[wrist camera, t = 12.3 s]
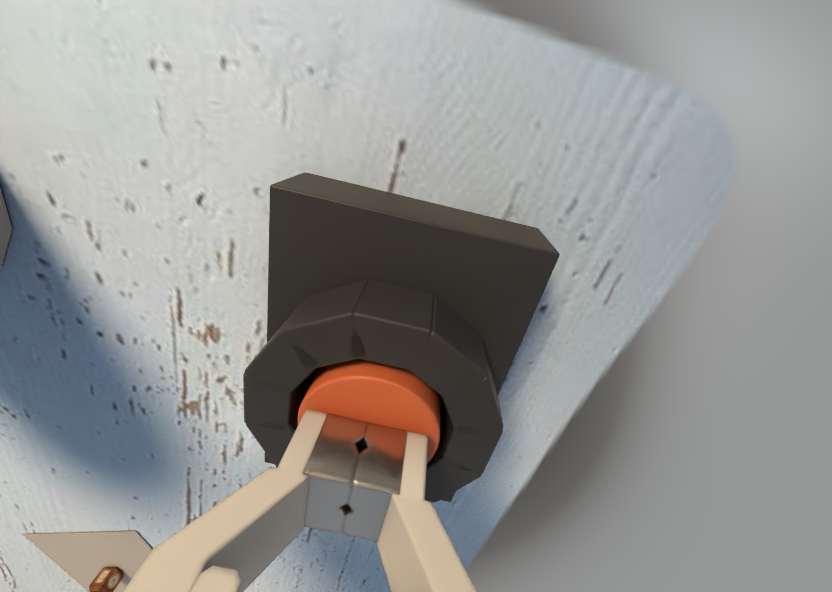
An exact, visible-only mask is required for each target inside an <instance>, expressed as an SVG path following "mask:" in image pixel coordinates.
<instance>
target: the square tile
mask: <svg viewBox="0 0 832 592" xmlns="http://www.w3.org/2000/svg"><path fill="white" fill-rule="evenodd" d="M23 535H24V536H25V537H26V538H27V539H28V540H30V541H31V542H32V543H33V544H34V545H35V546H37V547H38V548H39V549H40V550H41V551H42V552H43V553H45V554H46V555H47V556H48V557H49V558H50V559H52V560H53V561H54V562H55V563H56V564H57V565H58V566H60V567H61V568H62V569H63V570H64V571H65V572H67V573H68V574H69V575H70V576H71V577H72V578H73V579H75V580H76V581H77V582H78V583H79V584H80V585H82V586H83V587H84V588H85V589H86V590H87V591H88V592H123V591H124V590H125V588H126V587H127V586H128V584H129V583H130V581H131V580H132V578H133V577H134V575H135V574H136V573H137V571H138V570H139V568H140V567H141V565H142V564H143V562H144V561H145V560H146V558H147V557H148V555H149V554H150V552H151V551H152V549H151V547H150V546H149V545H148V544H147V543H146V542H145V541H144V540H143V539H142V538H141V536H140V535H139V534H138V533H137V532H136V531H121V532H86V533H51V534H23Z"/></svg>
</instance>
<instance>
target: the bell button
mask: <svg viewBox="0 0 832 592" xmlns="http://www.w3.org/2000/svg"><path fill="white" fill-rule="evenodd" d="M308 409H312V410H316V411H320V412H324V413H328V414H333V415H337V416H341V417H345V418H349V419H353V420H357V421H361V422H365V423H373V424H378V425H382V426H387V427H392V428H397V429H402V430H406V432H407V431H410V432H414V433H419V434H423V435H427V438H428V449H427V463H428V462H429V461H430V460H431V458H432V457H433V456H434V454H435V452H436V450H437V448H438V445H439V441H440V420H441V395H440V394H439V393H437V392H436V391H435V390H433V389H432V388H431V387H430V386H428V385H427V384H426V383H424V382H423V381H422V380H421V379H419V378H418V377H417V376H415V375H414V374H413V373H411V372H410V371H409V370H407V369H402V368H398V367H394V366H389V365H385V364H380V363H376V362H371V361H367V360H362V359H356V360H352V361H347V362H342V363H338V364H333V365H329V366H324V367H320V368H319V370H318V371H317V373H316V375H315V377H314V379H313V381H312V383H311V385H310V387H309V389H308V391H307V393H306V395H305V397H304V399H303V401H302V403H301V405H300V408H299V411H298V425H299V423H300V421H301V419H302V417H303V415H304V413H305V412H306V411H307V410H308Z"/></svg>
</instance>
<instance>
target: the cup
mask: <svg viewBox="0 0 832 592" xmlns="http://www.w3.org/2000/svg"><path fill="white" fill-rule="evenodd" d="M11 231H12V226H11V222H10V219H9V216H8V212H7V209H6V205H5V202H4V198H3V195H2V192H1V188H0V268H1V267H2V264H3V261H4V257H5V253H6V250H7V246H8V242H9V239H10V235H11Z"/></svg>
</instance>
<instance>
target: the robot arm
mask: <svg viewBox="0 0 832 592" xmlns="http://www.w3.org/2000/svg"><path fill="white" fill-rule="evenodd" d="M427 449H428V438H427V435H423V434H419V433H414V432H410V431H407V432H406V430H402V429H397V428H392V427H387V426H382V425H378V424H373V423H365V422H361V421H357V420H353V419H349V418H345V417H341V416H337V415H333V414H328V413H324V412H320V411H316V410H312V409H308V410H307V411H306V412H305V413H304V415H303V417H302V419H301V421H300V423H299V425H298V427H297V429H296V431H295V433H294V435H293V437H292V439H291V441H290V443H289V445H288V447H287V449H286V451H285V453H284V455H283V458H282V460H281V462H280V464H279V466H278V468H273V467H270V468H269V469H267V470H266V471H264V472H263V473H261V474H260V475H259V476H257V477H256V478H254V479H253V480H251V481H250V482H249V483H247V484H246V485H244V486H243V487H241V488H240V489H239V490H237V491H236V492H234V493H233V494H231V495H230V496H228V497H227V498H226V499H224V500H223V501H221V502H220V503H218V504H217V505H216V506H214V507H213V508H211V509H210V510H208V511H207V512H206V513H204V514H203V515H201V516H200V517H198V518H197V519H196V520H194V521H193V522H191V523H190V524H188V525H187V526H186V527H184V528H183V529H181V530H180V531H178V532H177V533H175V534H174V535H173V536H171V537H170V538H168V539H167V540H165V541H164V542H163V543H161V544H160V545H158V546H157V547H155V548H154V549H153V550H152V551H151V552H150V554H149V555H148V557H147V558H146V560H145V561H144V562H143V564H142V565H141V567H140V568H139V570H138V571H137V573H136V574H135V575H134V577H133V578H132V580H131V581H130V583H129V584H128V586H127V587H126V588H125V590H124V591H123V592H243V591H244V590H245V589H246V588H247V587H248V586H249V585H250V584H251V583H252V582H253V581H254V580H255V579H256V578H257V577H258V576H259V575H260V574H261V573H262V572H263V571H264V570H265V569H266V568H267V567H268V565H269V564H270V563H271V562H272V561H273V560H274V559H275V558H276V557H277V556H278V555H279V554H280V553H281V552H282V551H283V550H284V549H285V548H286V547H287V546H288V545H289V544H290V543H291V542H292V541H293V540H294V539H295V537H296V536H297V535H298V534H299V533H300V532H301V531H302V530H303V527H309V528H314V529H320V530H326V531H331V532H337V533H342V534H346V535H350V536H354V537H358V538H362V539H366V540H371V541H375V542H378V543H377V546H378V549H379V553H380V556H381V560H382V563H383V566H384V570H385V573H386V577H387V580H388V584H389V587H390V590H391V592H477V591H476V589H475V587H474V585H473V583H472V581H471V579H470V577H469V575H468V573H467V571H466V569H465V567H464V565H463V563H462V561H461V559H460V557H459V555H458V553H457V551H456V549H455V547H454V546H453V544H452V542H451V540H450V538H449V536H448V534H447V532H446V530H445V528H444V526H443V524H442V522H441V520H440V518H439V516H438V514H437V512H436V510H435V508H434V507H433V505H432V503H431V502H430V501H426V500H425V485H426V467H427Z"/></svg>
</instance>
